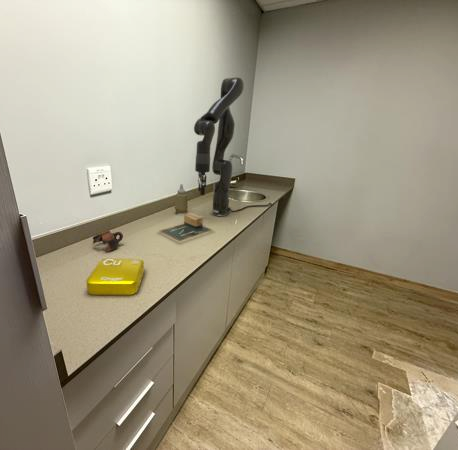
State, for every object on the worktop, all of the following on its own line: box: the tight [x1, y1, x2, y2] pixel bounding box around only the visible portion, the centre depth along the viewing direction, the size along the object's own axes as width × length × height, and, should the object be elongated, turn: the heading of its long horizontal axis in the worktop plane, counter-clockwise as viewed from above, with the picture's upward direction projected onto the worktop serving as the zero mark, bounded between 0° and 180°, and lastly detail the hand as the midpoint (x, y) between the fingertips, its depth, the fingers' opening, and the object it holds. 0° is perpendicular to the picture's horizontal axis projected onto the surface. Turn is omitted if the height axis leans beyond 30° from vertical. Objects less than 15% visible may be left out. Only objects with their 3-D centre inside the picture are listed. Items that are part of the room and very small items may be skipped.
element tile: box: [86, 258, 145, 296], centre depth 79 cm, size 15×15×5 cm
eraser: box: [183, 213, 204, 229], centre depth 127 cm, size 5×9×5 cm, turn 45°
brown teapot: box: [92, 229, 124, 253], centre depth 102 cm, size 12×10×8 cm
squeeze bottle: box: [174, 183, 189, 215], centre depth 147 cm, size 8×8×18 cm
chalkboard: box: [159, 223, 213, 242], centre depth 121 cm, size 22×16×1 cm
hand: (201, 193), depth 131 cm, fingers open, 8 cm apart
